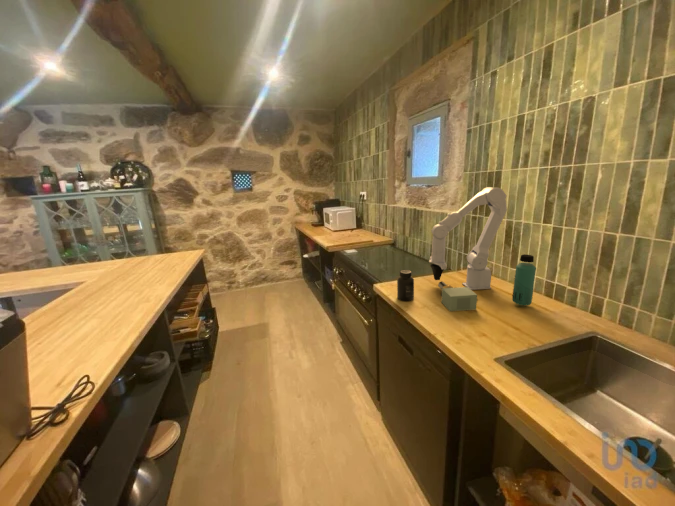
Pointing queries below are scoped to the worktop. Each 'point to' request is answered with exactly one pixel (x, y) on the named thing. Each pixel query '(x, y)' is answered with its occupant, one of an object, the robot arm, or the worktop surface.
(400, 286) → the supplement bottle
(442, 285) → the shaft
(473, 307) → the block
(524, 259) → the beverage bottle
